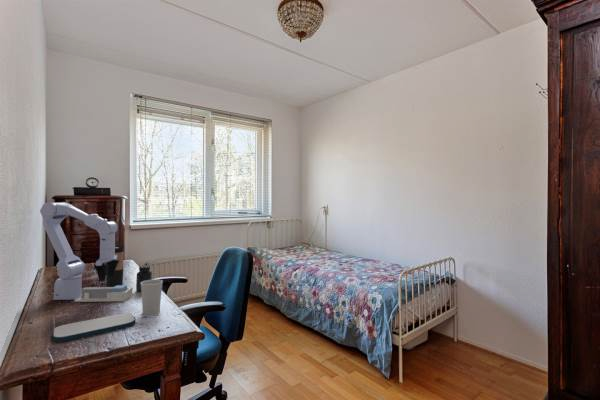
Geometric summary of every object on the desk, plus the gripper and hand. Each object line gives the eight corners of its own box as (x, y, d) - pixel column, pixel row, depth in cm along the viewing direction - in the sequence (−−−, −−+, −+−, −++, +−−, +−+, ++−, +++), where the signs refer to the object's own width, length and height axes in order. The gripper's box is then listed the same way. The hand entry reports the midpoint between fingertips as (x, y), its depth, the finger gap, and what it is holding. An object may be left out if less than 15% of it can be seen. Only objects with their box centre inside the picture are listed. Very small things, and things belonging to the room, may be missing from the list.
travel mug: (102, 286, 155) (103, 247, 155) (116, 283, 162) (117, 245, 162) (112, 288, 152) (113, 248, 152) (126, 284, 159) (127, 246, 159)
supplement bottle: (145, 293, 146) (145, 268, 146) (132, 292, 147) (133, 267, 147) (154, 289, 153) (155, 265, 153) (142, 288, 154) (143, 264, 154)
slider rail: (74, 301, 132) (74, 293, 132) (86, 295, 141) (86, 287, 141) (124, 301, 134) (124, 292, 134) (133, 294, 143) (133, 287, 143)
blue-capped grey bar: (80, 298, 134) (80, 288, 134) (86, 295, 139) (86, 285, 139) (122, 298, 136) (122, 288, 136) (126, 295, 141) (126, 285, 141)
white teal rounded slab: (52, 345, 94) (52, 339, 94) (52, 332, 103) (52, 326, 103) (137, 326, 109) (137, 321, 109) (130, 316, 118) (130, 311, 118)
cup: (140, 316, 117) (140, 285, 117) (140, 309, 124) (140, 280, 124) (162, 313, 121) (163, 283, 121) (161, 307, 128) (162, 278, 128)
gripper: (108, 251, 131) (107, 282, 131) (124, 245, 145) (123, 274, 145) (91, 250, 130) (90, 282, 130) (108, 245, 145) (108, 274, 145)
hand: (106, 278), depth 138 cm, fingers open, 7 cm apart
